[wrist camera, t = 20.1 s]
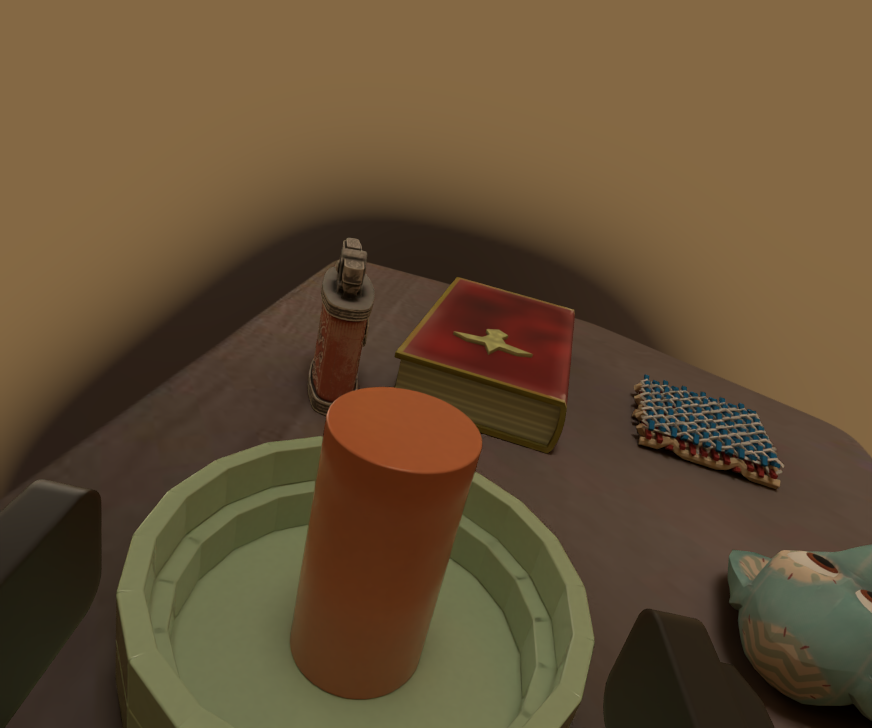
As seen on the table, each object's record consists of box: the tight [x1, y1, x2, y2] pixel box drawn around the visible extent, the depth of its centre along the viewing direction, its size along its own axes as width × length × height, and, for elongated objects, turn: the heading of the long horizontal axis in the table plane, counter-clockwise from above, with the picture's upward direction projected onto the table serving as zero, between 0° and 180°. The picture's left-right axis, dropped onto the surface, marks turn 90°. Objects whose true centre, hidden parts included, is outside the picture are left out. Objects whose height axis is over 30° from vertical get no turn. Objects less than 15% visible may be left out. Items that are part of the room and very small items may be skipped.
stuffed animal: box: [728, 545, 872, 721], centre depth 29 cm, size 11×7×12 cm
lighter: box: [307, 238, 374, 415], centre depth 42 cm, size 8×3×10 cm, turn 8°
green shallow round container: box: [116, 436, 595, 728], centre depth 24 cm, size 17×17×4 cm
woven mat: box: [632, 375, 784, 489], centre depth 49 cm, size 10×11×2 cm
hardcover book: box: [394, 277, 575, 453], centre depth 51 cm, size 12×21×4 cm, turn 167°
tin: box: [290, 387, 482, 699], centre depth 23 cm, size 5×5×10 cm
